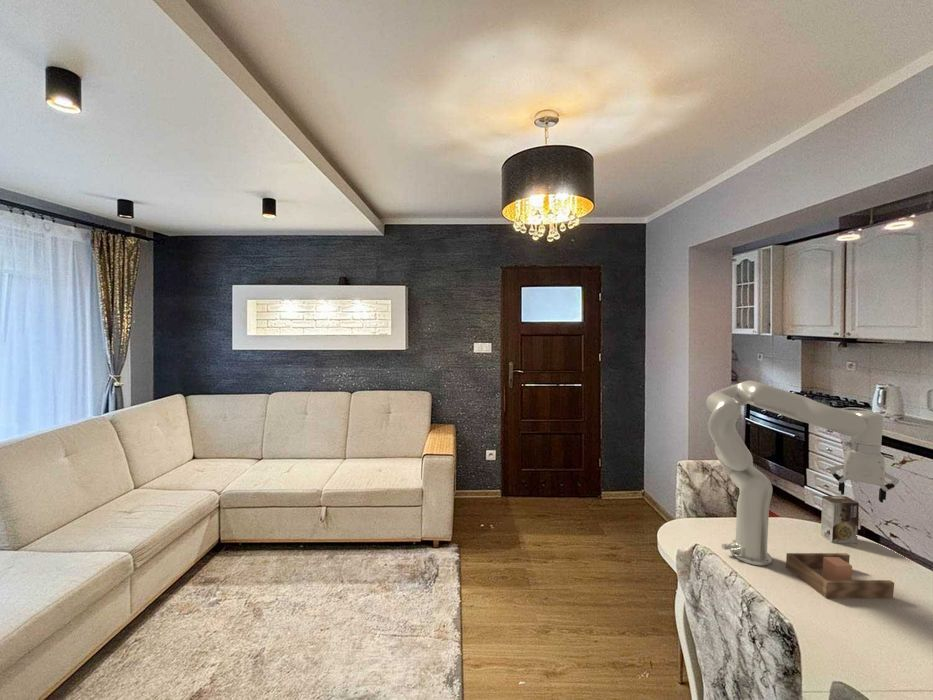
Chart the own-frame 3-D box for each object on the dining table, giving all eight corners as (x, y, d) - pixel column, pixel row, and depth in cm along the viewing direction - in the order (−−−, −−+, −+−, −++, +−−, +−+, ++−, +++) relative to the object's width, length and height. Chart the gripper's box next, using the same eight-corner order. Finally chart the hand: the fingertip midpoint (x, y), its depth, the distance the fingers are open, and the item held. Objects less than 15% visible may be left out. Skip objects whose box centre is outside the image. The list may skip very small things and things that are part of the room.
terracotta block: (835, 586, 136) (836, 565, 135) (822, 577, 141) (823, 557, 140) (850, 586, 136) (852, 565, 135) (837, 577, 141) (838, 557, 140)
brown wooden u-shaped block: (825, 598, 130) (826, 582, 130) (785, 567, 146) (786, 553, 146) (893, 598, 130) (894, 582, 129) (845, 567, 146) (846, 553, 146)
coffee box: (844, 535, 168) (846, 496, 166) (857, 544, 161) (860, 503, 160) (819, 534, 168) (821, 495, 167) (831, 543, 162) (834, 502, 161)
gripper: (832, 445, 145) (828, 494, 146) (903, 456, 134) (899, 508, 135) (830, 440, 151) (827, 487, 152) (899, 450, 140) (894, 500, 141)
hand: (861, 497), depth 144 cm, fingers open, 9 cm apart
